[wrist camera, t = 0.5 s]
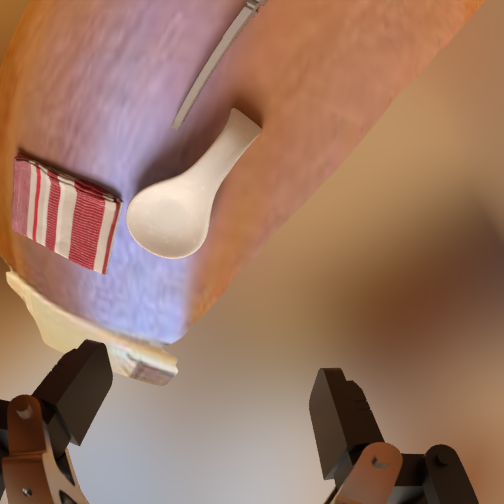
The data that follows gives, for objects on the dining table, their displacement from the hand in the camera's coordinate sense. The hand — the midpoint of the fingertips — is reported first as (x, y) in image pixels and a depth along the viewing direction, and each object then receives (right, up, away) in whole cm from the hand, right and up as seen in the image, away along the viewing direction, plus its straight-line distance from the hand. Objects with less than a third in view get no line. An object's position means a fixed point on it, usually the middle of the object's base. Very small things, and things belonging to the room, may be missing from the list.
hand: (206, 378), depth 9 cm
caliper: (-3, +28, +18) cm, 33 cm away
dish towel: (-31, +11, +30) cm, 45 cm away
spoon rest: (-6, +14, +28) cm, 32 cm away
